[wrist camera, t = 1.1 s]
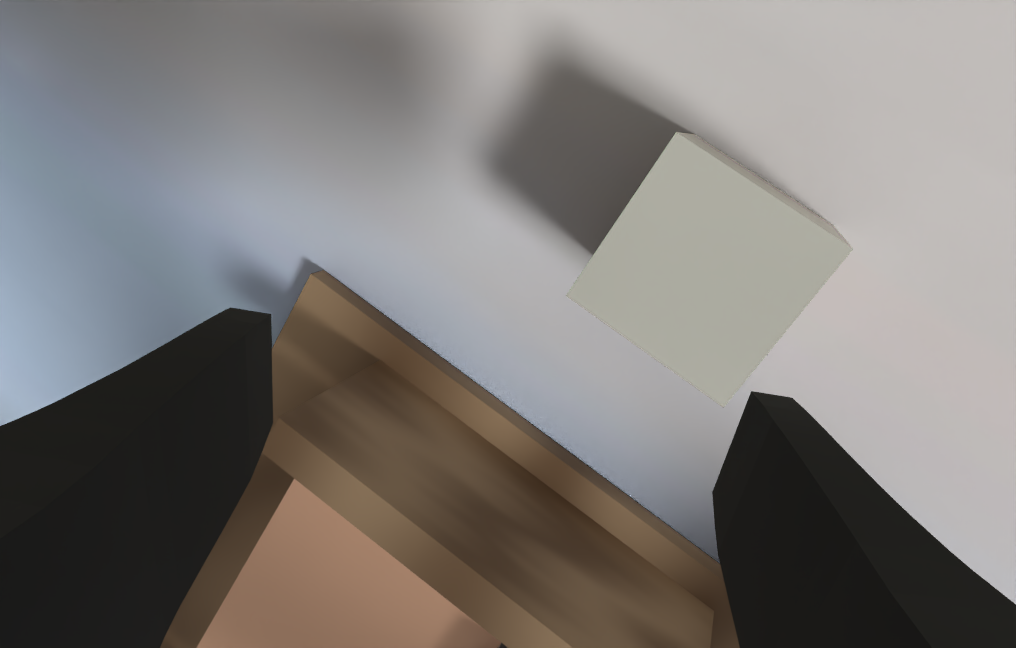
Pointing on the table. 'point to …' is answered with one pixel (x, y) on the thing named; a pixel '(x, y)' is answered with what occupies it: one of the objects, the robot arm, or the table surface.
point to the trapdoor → (332, 591)
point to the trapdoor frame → (458, 496)
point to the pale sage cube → (708, 266)
